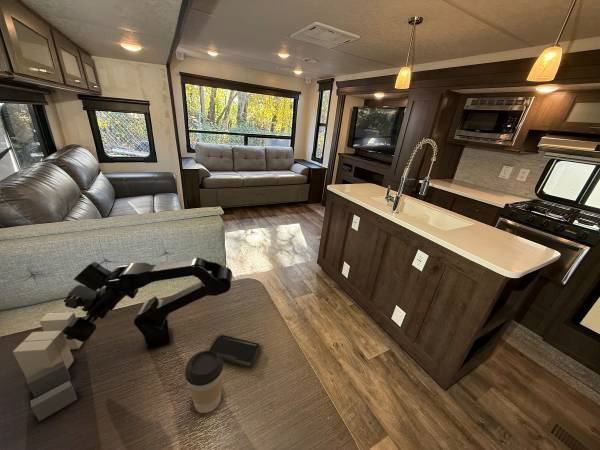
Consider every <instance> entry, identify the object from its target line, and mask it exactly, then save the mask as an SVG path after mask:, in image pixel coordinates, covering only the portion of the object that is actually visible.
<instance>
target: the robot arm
mask: <svg viewBox="0 0 600 450" xmlns="http://www.w3.org/2000/svg"><path fill="white" fill-rule="evenodd" d="M186 277H194V278H197V279H198V280H199V281H200V282H197V283H195V284H192V285H191V286H189V287H186V288H184V289H182V290H180V291H178V292H176V293H174V294H171V295H170V296H168V297H166V298H164V299H159V298H158V297H157V295H156V296H153V297H152V298H150V299H146V300H144V302H143V304H142V305H141V307H140V309H139V311H138V313H137V314H136V316H135V317H134V319H133V324H134V326H135V327H136V328H137V329H138V331H139V332H140V333H141V334H142V336H143V337H144V341H145V344H146V345H147V346H146V347H147V350H151V349H155V348H159V347H161V346H162V347H163V346H165V345H169V344H170V343H171V328H170V326H169V319H168V317H169V315H170V314H171V313H174V312H175V311H178V310H179V309H180V310H181V309H182V308H184V307H186V306H188V305H190V304H192V303H194V302H197V301H198V300H201V299H202V298H205V297H207V296H211V297H216V296H220V295H223V294H226V293H228V292H229V291H230V290H231V287H232V279H233V271H232V270H231V268H229V267H228V266H224V265H222V264H220V263H218V262H215V261H209V260H207V259H205V258H203V257H199V256H198V257H195V258H193V259H186V260H179V261H172V262H171V261H170V262H166V263H165V262H164V263H158V264H150V263H147V262H131V263H128V264H127V265H119V266H115V267H114V268H113V270H109V269H107V268H106V267H105V266H102V265H101V264H100V263H98V262H97V261H95V260H93V261H92V262H90V263H89V264H88V265H87V266H86V267H85V268H83V269H82V271H80V272H79V273H78V274H77V275H76V276H75V277H74V278H73V281H76V282H77V283H79V284H77V285H75V286H74V287H73V288H72V289H71V290H70V291H69V292H68V294H67V295H66V298H65V299H64V300H63V302H64V306H65V307H66V308H70V309H78V308H79V307H80V308H81V311H82V312H85V316H86V319H85V318H83V317H81V316H76V317H75V318H74V319H72V321H71V322H70V323H69V324H68V325H67V326H66V327H65V328H64V329H63V330H62V332H63V334H65V335H67V337H66V339H68V340H72V339H76V340H79V341H81V342H83V343H84V342H85V343H86V341H88V340H89V339H90V338H91V337H92V335H93V334H94V332H95V331H96V329H97V325H96V324H95V322H96V321H97V320H98V318H100V319H102V320H103V319H105V318H106V316H107V314H109V312H110V311H113V310H114V309H115V308H116V306H117V305H118V304H119V303H120V302H121V301H122V300H123V299H125V297H129V298H130V299H132V300H133V299H135V297H136V296H137V294H138V293H139V289H141V288H144V287H146V286H147V285H149V284H151V283H154V282H161V281H166V280H173V279H174V280H175V279H181V278H186Z"/></svg>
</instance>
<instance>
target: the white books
mask: <svg viewBox="0 0 600 450" xmlns="http://www.w3.org/2000/svg"><path fill="white" fill-rule="evenodd" d="M12 354H13V355H14V357H15V359H16V361H17V363H18V365H19V366H20V369H21V371H22V373H23V374H24V376H25V379H27V378H29V377H31V376H33V375H35V374H37V373H39V372H41V371H43V370H45V369H47V368H49V367H53V366H54V365H56V364H58V363H60V362H62V361H64V363H65V365H66V368H67V370H68V369H69V368H70V366H72V364H73V362H74V357H73V355H72V352H71V349H69V346H68V344H67V341H66V339H65V336H64V334H63V332H62V331H45V332H44V331H32V332H31V333H30V334H29V335H28V336H27V337H26V338H25V339H24V340H23V341H22V342H21V343H20V344H19V345H18V346H17V347H16V348H15V349H14V350H13V351H12Z"/></svg>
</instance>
